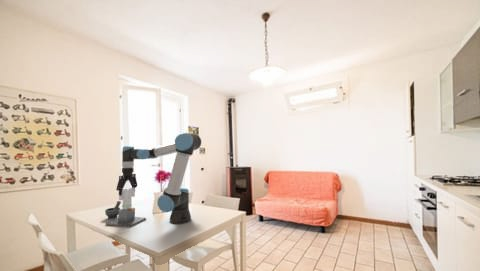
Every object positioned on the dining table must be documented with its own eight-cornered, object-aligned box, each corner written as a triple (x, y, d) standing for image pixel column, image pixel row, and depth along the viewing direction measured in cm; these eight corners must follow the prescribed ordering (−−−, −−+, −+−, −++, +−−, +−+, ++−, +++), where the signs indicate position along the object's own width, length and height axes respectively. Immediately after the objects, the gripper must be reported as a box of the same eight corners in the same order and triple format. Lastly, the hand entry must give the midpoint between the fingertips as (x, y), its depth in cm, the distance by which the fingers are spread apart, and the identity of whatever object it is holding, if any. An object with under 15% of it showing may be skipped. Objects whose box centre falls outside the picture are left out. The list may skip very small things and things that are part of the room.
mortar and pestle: (110, 221, 156) (110, 204, 157) (102, 219, 160) (102, 203, 161) (124, 216, 166) (124, 201, 167) (116, 215, 170) (116, 200, 171)
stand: (146, 219, 158) (146, 205, 158) (130, 227, 142) (130, 211, 143) (123, 218, 162) (123, 204, 163) (105, 225, 147) (106, 210, 147)
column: (131, 212, 154) (132, 188, 155) (127, 213, 150) (127, 189, 151) (125, 211, 155) (126, 188, 156) (121, 213, 151) (122, 189, 152)
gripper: (134, 166, 167) (134, 194, 165) (110, 168, 145) (109, 201, 143) (142, 166, 165) (142, 195, 164) (119, 168, 143) (119, 202, 141)
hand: (127, 198), depth 153 cm, fingers open, 10 cm apart
